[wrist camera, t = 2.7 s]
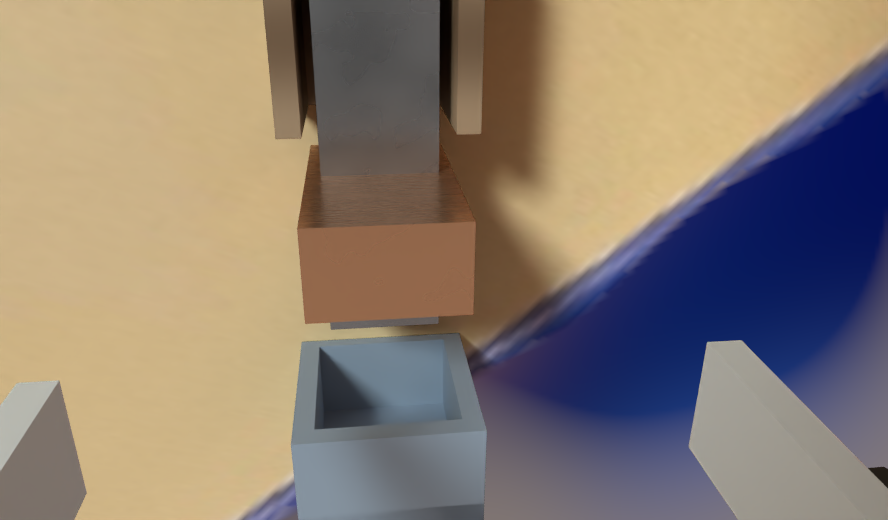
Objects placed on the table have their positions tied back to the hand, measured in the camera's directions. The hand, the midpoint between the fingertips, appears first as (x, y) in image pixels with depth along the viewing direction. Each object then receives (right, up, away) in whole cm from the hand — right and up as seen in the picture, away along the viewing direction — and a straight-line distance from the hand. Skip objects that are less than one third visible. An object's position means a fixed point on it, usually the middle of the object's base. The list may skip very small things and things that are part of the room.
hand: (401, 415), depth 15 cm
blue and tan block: (-2, +9, +13) cm, 16 cm away
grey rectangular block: (-2, -3, +19) cm, 20 cm away
